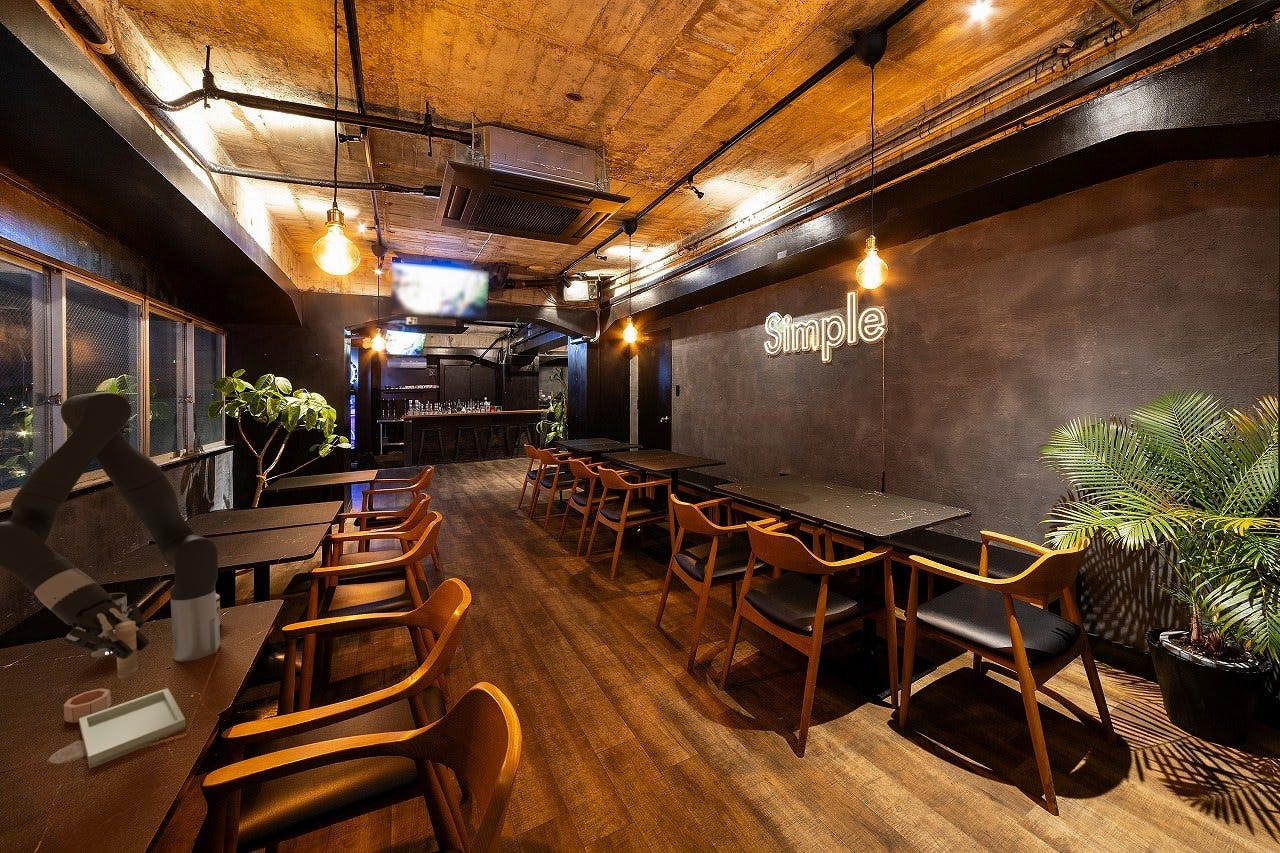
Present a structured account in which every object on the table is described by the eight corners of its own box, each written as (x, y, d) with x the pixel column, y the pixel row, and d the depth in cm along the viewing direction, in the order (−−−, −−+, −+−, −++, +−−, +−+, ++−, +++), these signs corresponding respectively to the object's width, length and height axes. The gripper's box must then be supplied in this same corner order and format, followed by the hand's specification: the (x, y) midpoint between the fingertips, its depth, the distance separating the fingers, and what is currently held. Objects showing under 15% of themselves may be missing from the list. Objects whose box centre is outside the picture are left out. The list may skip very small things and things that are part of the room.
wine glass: (126, 640, 144) (123, 590, 143) (132, 648, 140) (129, 597, 139) (86, 652, 138) (82, 599, 137) (90, 661, 133) (86, 607, 132)
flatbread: (99, 734, 106) (99, 730, 106) (113, 746, 102) (113, 742, 102) (41, 759, 99) (41, 754, 99) (54, 773, 95) (54, 768, 95)
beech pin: (139, 668, 108) (137, 619, 107) (135, 675, 106) (132, 625, 105) (120, 672, 106) (117, 623, 106) (115, 679, 104) (112, 628, 103)
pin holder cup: (114, 702, 116) (113, 685, 116) (104, 717, 111) (102, 700, 110) (73, 711, 113) (72, 694, 113) (60, 728, 107) (59, 710, 107)
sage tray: (79, 729, 107) (79, 718, 107) (168, 697, 118) (167, 687, 118) (89, 768, 96) (88, 756, 96) (185, 730, 107) (185, 719, 107)
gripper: (47, 597, 97) (116, 656, 99) (119, 571, 111) (178, 624, 113) (21, 623, 98) (89, 682, 99) (96, 594, 111) (155, 646, 113)
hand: (136, 651), depth 106 cm, fingers closed on beech pin, 3 cm apart
